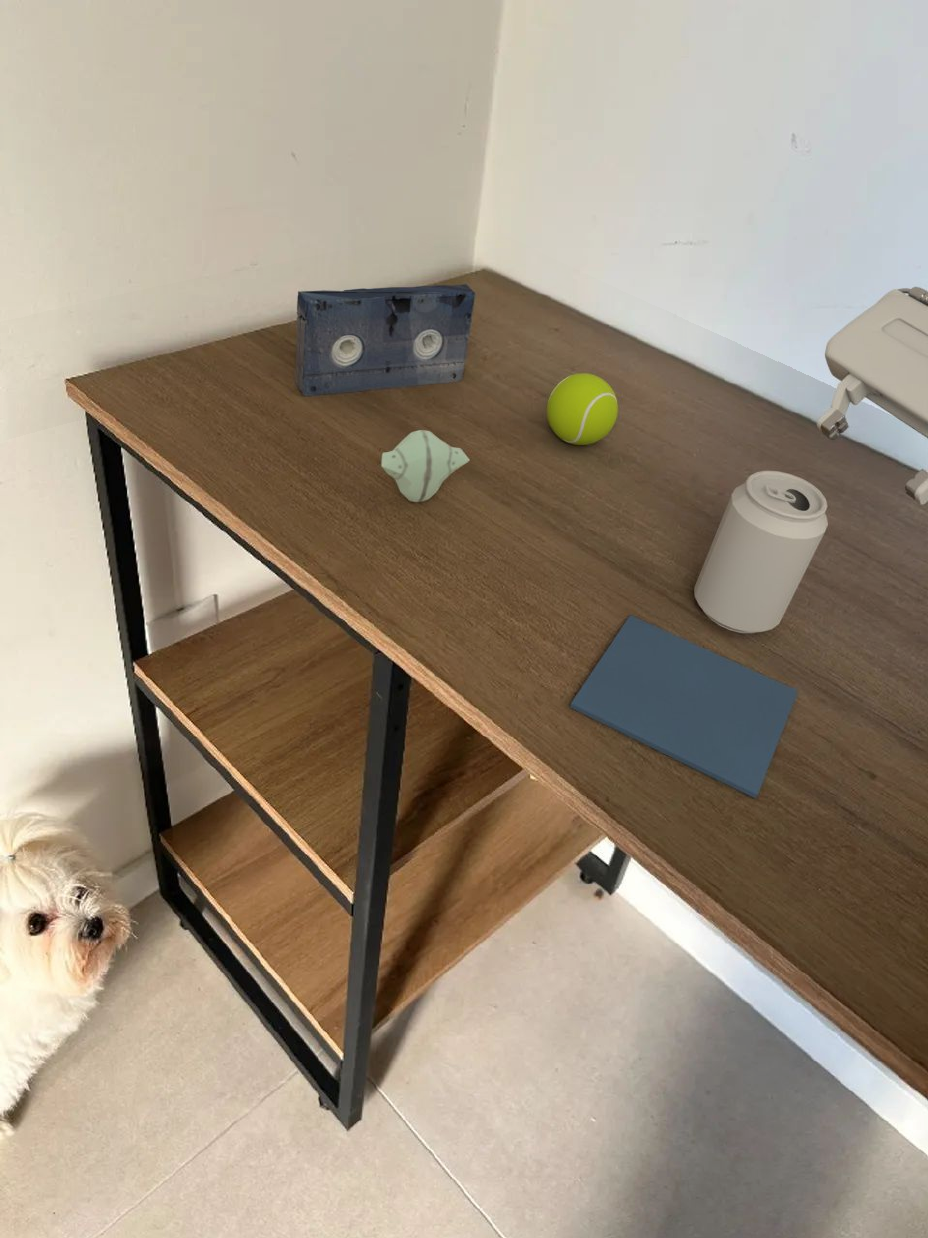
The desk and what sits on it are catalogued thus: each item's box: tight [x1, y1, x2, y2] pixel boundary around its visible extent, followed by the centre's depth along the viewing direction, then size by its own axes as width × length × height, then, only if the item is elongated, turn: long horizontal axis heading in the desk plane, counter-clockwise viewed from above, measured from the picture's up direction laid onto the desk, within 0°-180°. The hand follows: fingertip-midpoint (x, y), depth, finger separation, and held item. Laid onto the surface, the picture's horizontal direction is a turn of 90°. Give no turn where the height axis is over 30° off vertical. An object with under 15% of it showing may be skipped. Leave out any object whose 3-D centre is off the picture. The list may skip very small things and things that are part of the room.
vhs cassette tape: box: [294, 284, 476, 397], centre depth 95 cm, size 18×3×10 cm, turn 115°
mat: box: [569, 614, 799, 799], centre depth 69 cm, size 14×12×1 cm
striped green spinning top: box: [380, 429, 471, 503], centre depth 81 cm, size 8×4×7 cm, turn 110°
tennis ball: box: [546, 372, 619, 446], centre depth 93 cm, size 7×7×7 cm
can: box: [693, 470, 829, 634], centre depth 74 cm, size 8×8×12 cm
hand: (866, 463), depth 73 cm, fingers open, 8 cm apart
